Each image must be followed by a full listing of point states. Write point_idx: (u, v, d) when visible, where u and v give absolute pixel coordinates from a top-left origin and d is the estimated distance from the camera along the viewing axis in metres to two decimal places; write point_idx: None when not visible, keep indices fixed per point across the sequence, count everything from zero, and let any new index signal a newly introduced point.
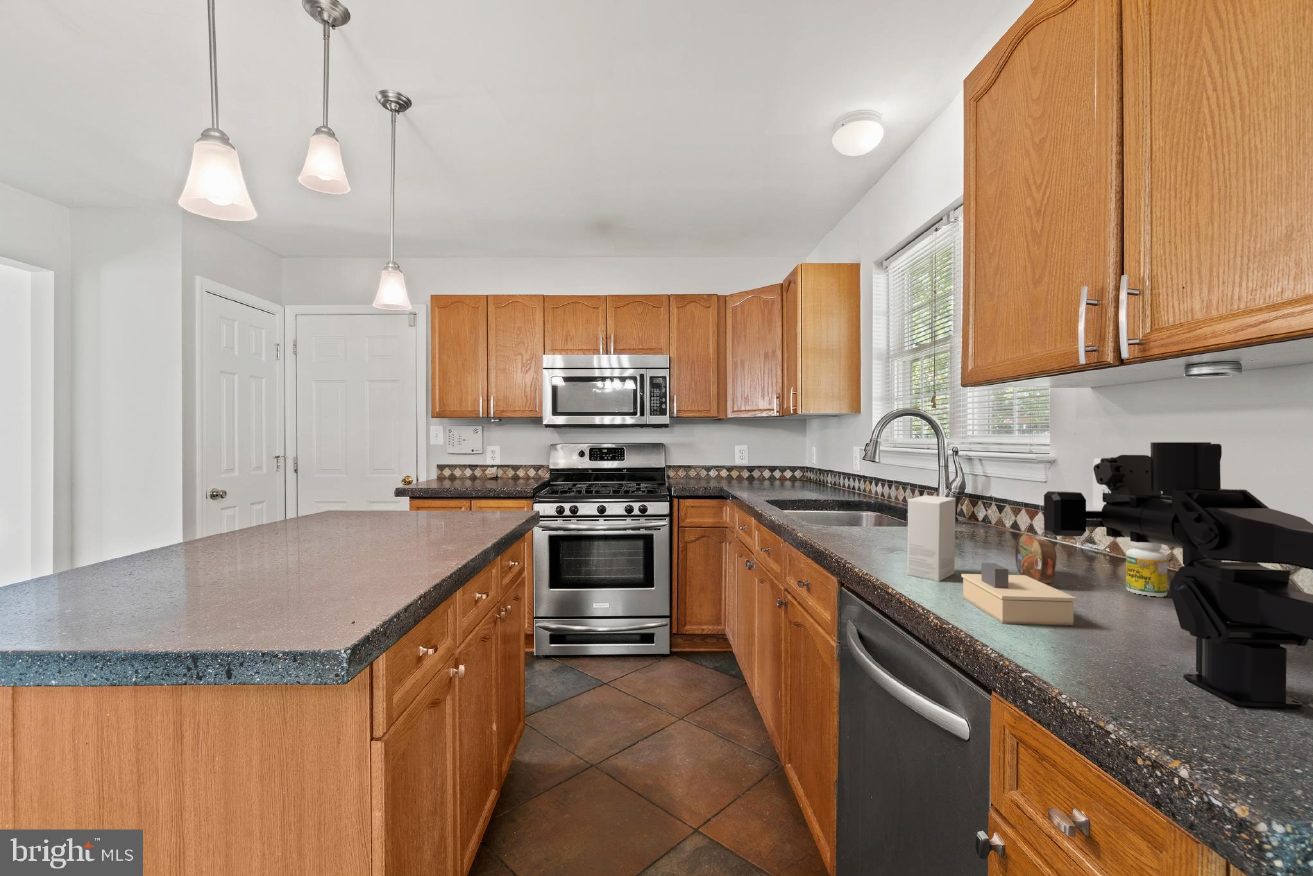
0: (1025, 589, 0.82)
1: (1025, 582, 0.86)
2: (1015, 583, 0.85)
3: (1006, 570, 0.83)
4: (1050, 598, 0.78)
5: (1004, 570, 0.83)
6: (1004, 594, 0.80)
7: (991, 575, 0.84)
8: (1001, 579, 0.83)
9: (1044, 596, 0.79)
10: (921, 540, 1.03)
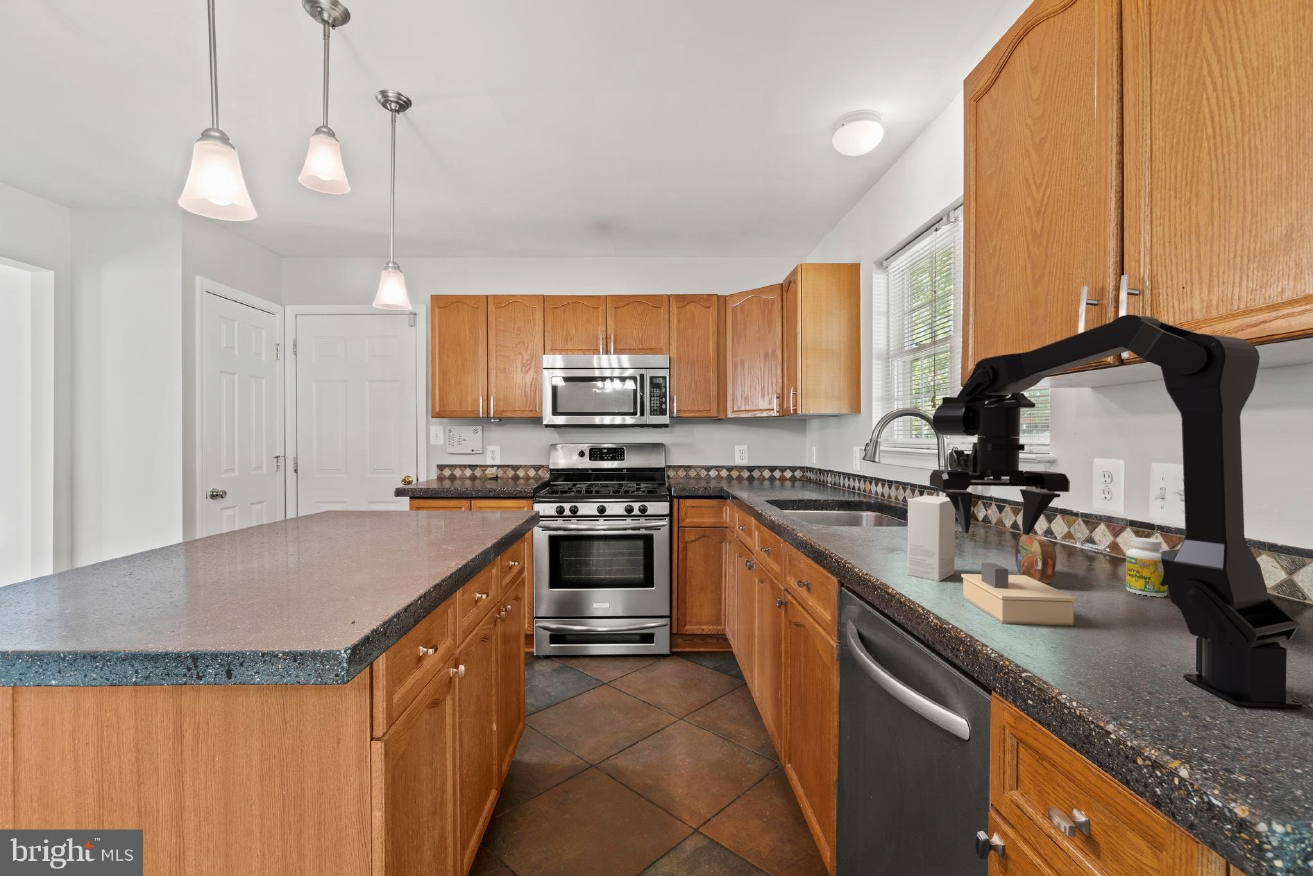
0: (1025, 589, 0.82)
1: (1025, 582, 0.86)
2: (1015, 583, 0.85)
3: (1006, 570, 0.83)
4: (1050, 598, 0.78)
5: (1004, 570, 0.83)
6: (1004, 594, 0.80)
7: (991, 575, 0.84)
8: (1001, 579, 0.83)
9: (1044, 596, 0.79)
10: (921, 540, 1.03)
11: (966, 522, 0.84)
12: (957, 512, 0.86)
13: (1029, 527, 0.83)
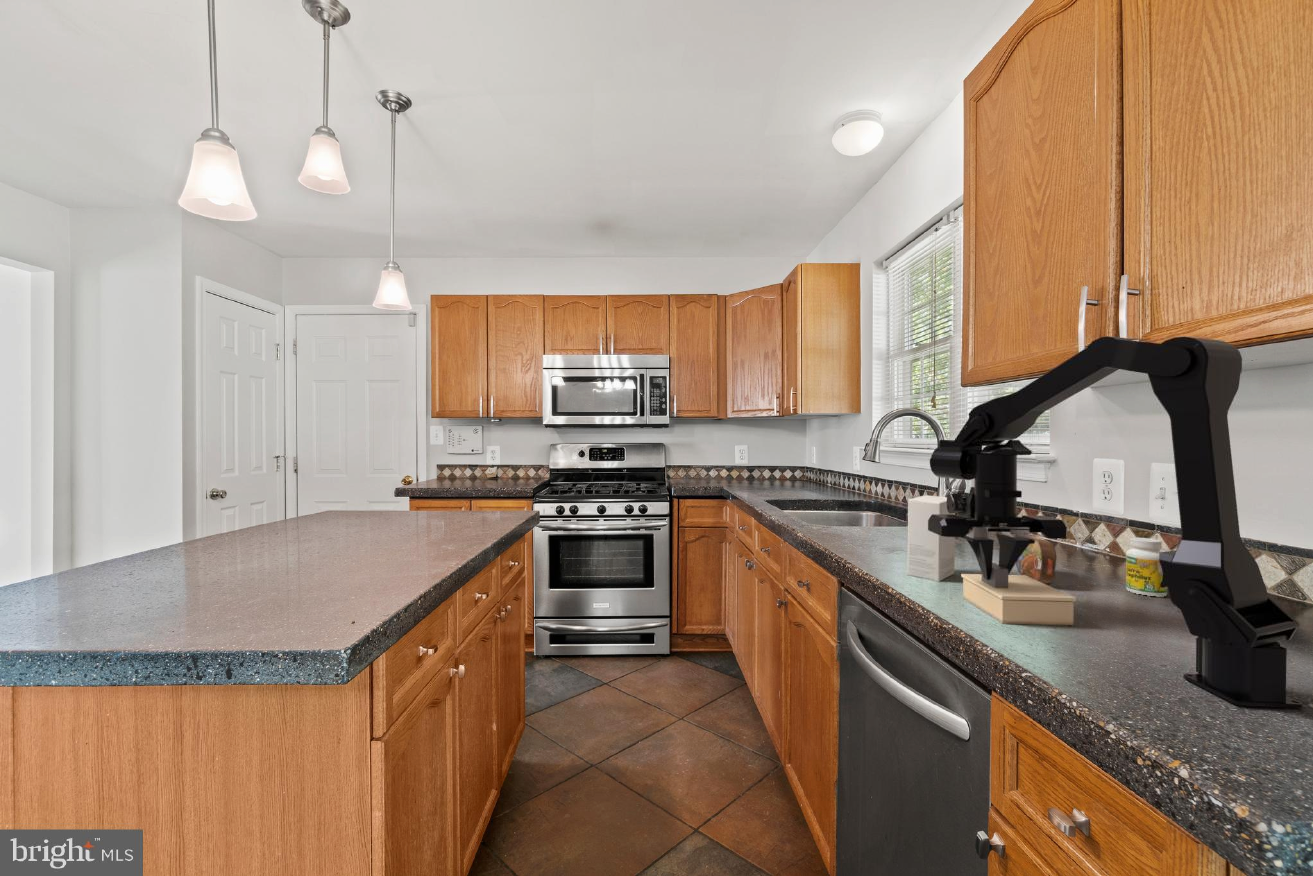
0: (1025, 589, 0.82)
1: (1025, 582, 0.86)
2: (1015, 583, 0.85)
3: (1006, 570, 0.83)
4: (1050, 598, 0.78)
5: (1004, 570, 0.83)
6: (1004, 594, 0.80)
7: (991, 575, 0.84)
8: (1001, 579, 0.83)
9: (1044, 596, 0.79)
10: (921, 540, 1.03)
11: (987, 569, 0.84)
12: (978, 558, 0.85)
13: None
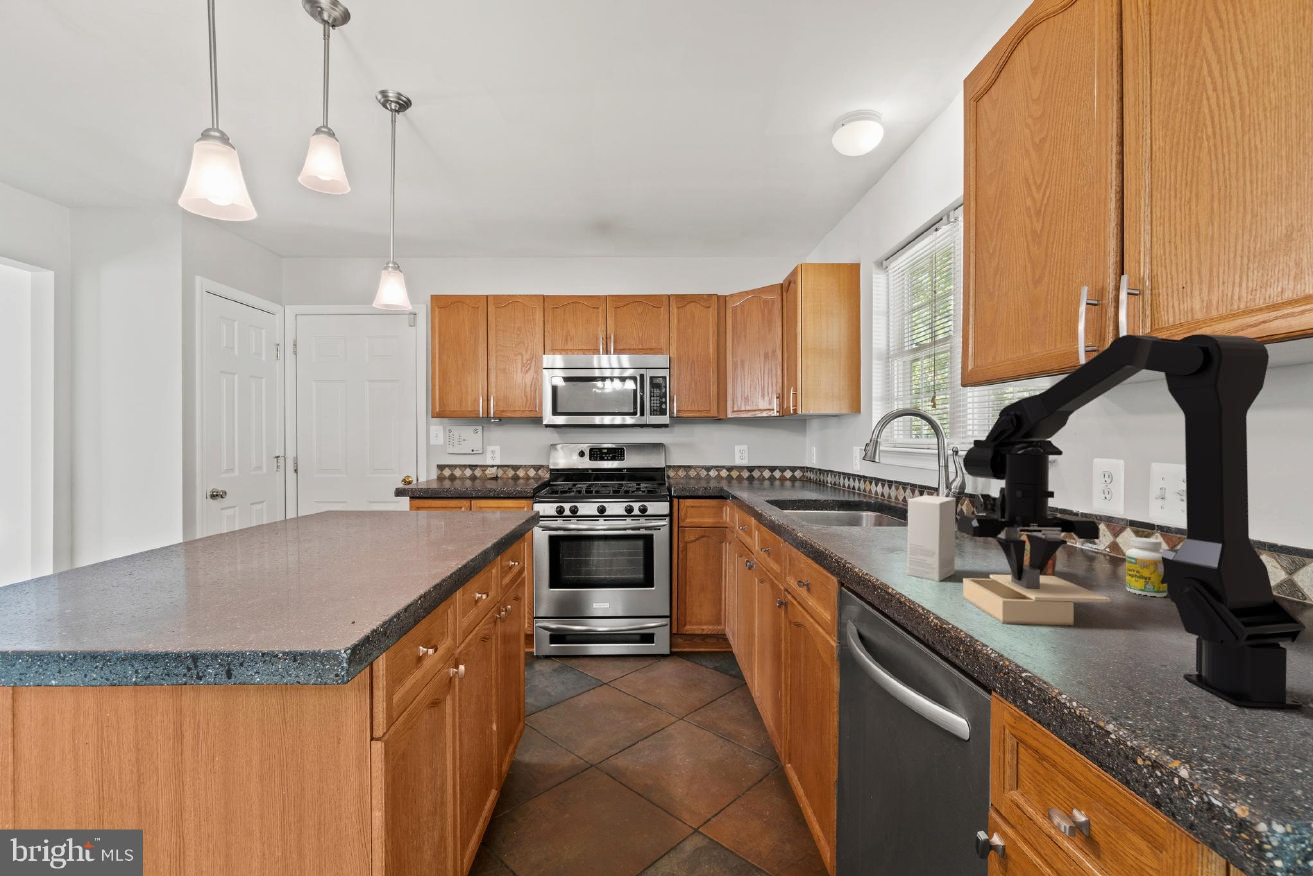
0: (1057, 590, 0.82)
1: (1055, 583, 0.85)
2: (1045, 584, 0.85)
3: (1038, 571, 0.82)
4: (1083, 599, 0.78)
5: (1035, 571, 0.82)
6: (1037, 595, 0.79)
7: (1022, 576, 0.83)
8: (1032, 580, 0.82)
9: (1077, 597, 0.78)
10: (921, 540, 1.03)
11: (1019, 569, 0.83)
12: (1008, 558, 0.85)
13: None
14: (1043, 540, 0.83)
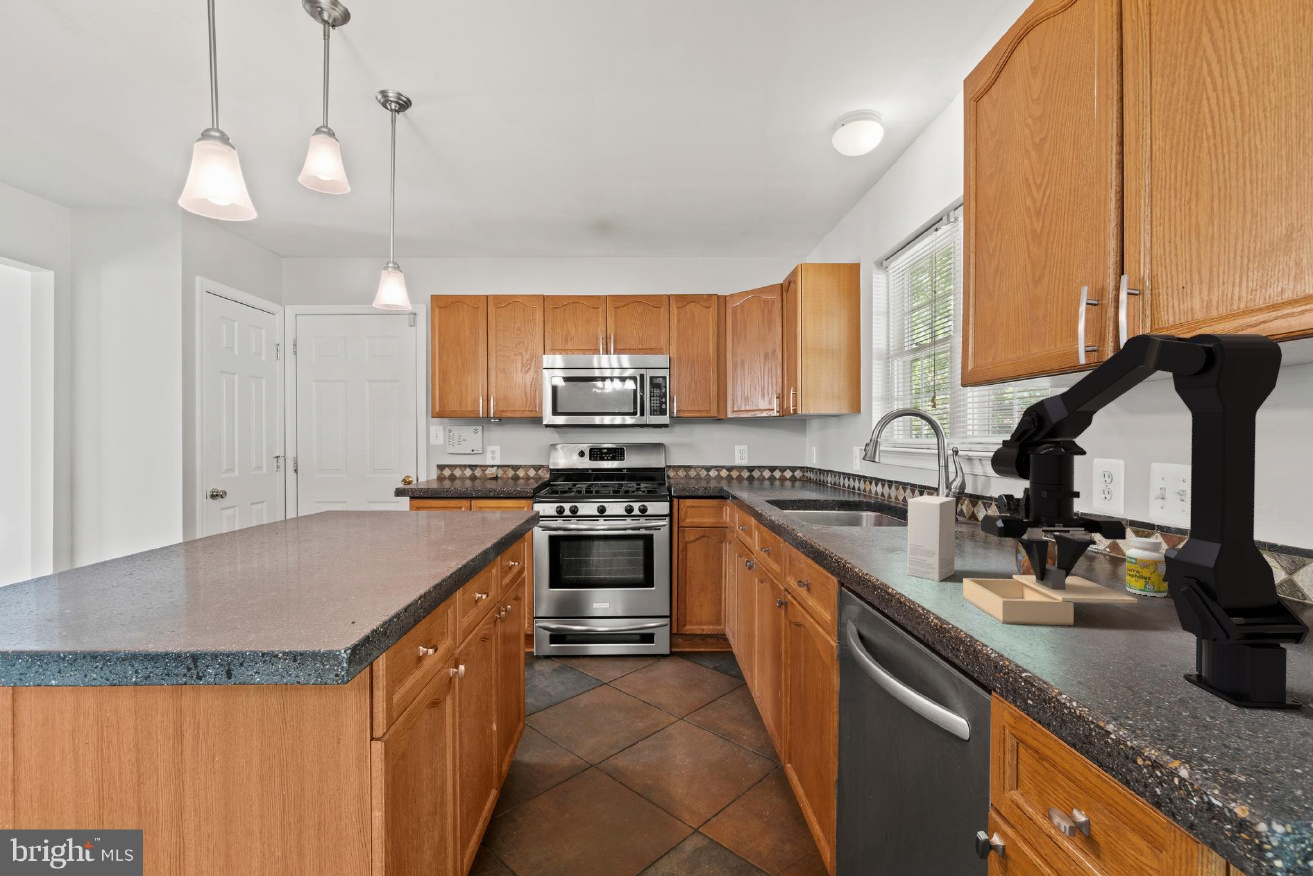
0: (1083, 590, 0.81)
1: (1080, 583, 0.85)
2: (1070, 584, 0.85)
3: (1063, 572, 0.82)
4: (1111, 600, 0.77)
5: (1061, 571, 0.82)
6: (1063, 595, 0.79)
7: (1048, 577, 0.83)
8: (1058, 581, 0.82)
9: (1104, 598, 0.78)
10: (921, 540, 1.03)
11: (1041, 570, 0.83)
12: (1030, 559, 0.85)
13: None
14: (1071, 540, 0.82)
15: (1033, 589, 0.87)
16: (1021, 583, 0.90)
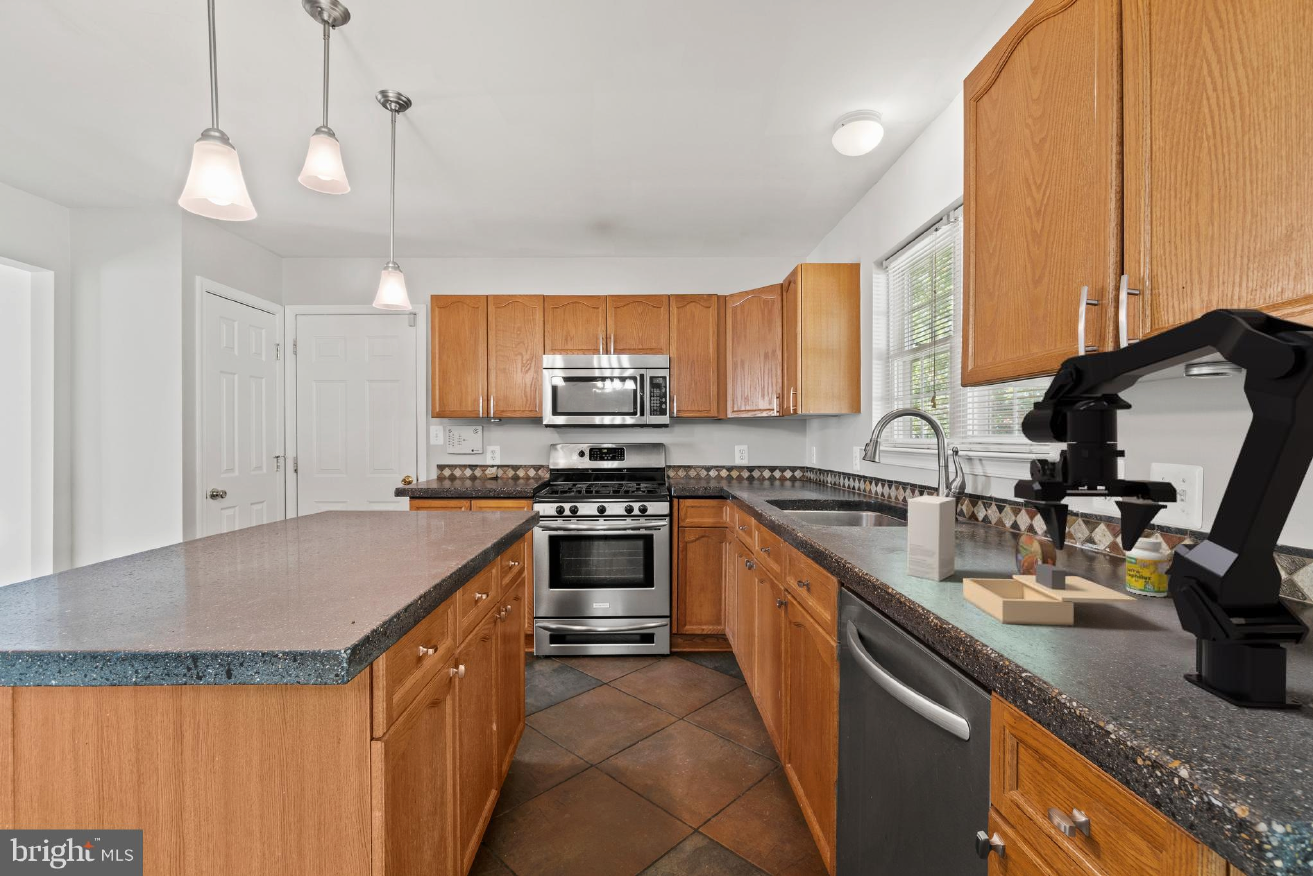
0: (1083, 590, 0.81)
1: (1080, 583, 0.85)
2: (1070, 584, 0.85)
3: (1063, 572, 0.82)
4: (1111, 600, 0.77)
5: (1061, 571, 0.82)
6: (1063, 595, 0.79)
7: (1048, 577, 0.83)
8: (1058, 581, 0.82)
9: (1104, 598, 0.78)
10: (921, 540, 1.03)
11: (1060, 537, 0.76)
12: (1048, 526, 0.77)
13: (1131, 542, 0.75)
14: (1139, 505, 0.74)
15: (1033, 589, 0.87)
16: (1021, 583, 0.90)
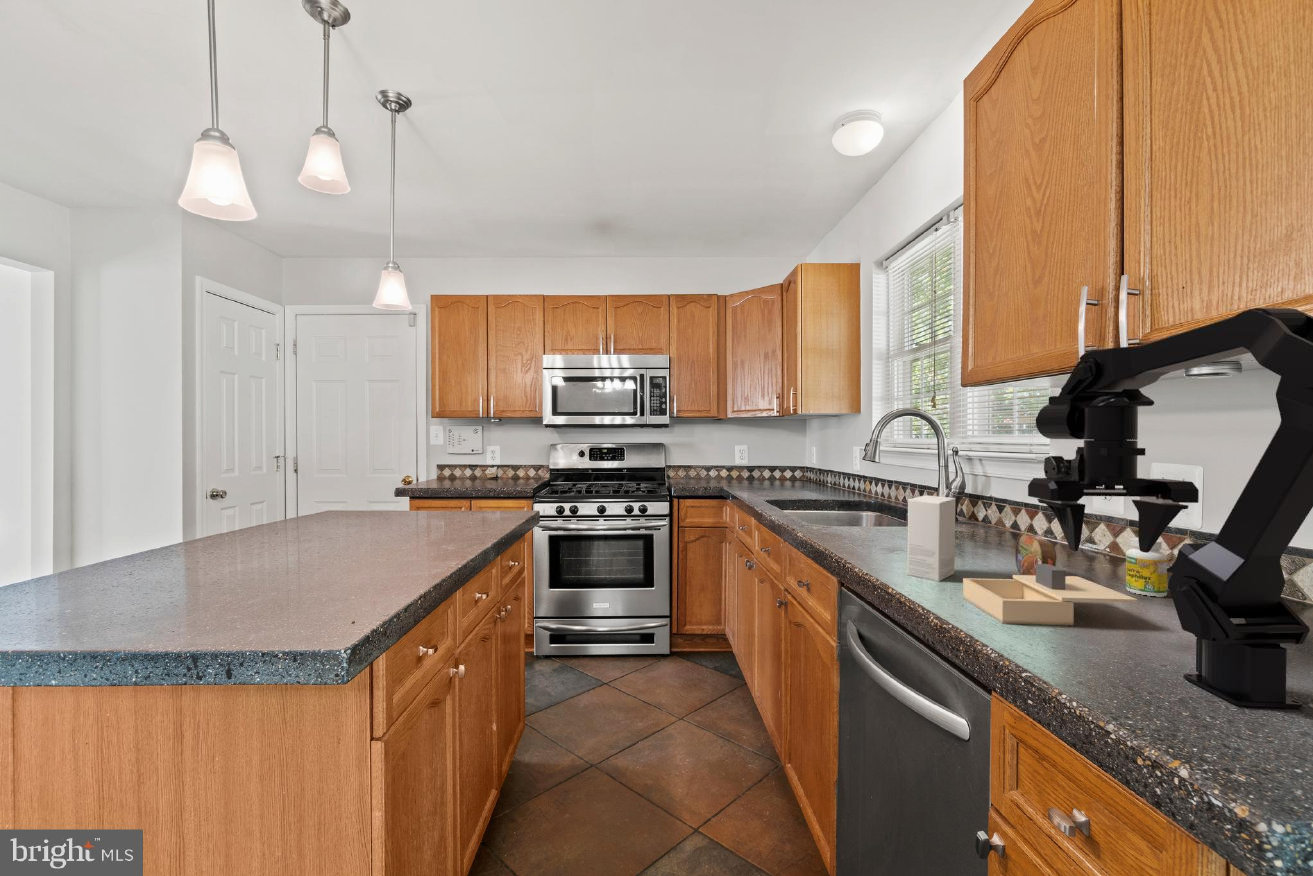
0: (1083, 590, 0.81)
1: (1080, 583, 0.85)
2: (1070, 584, 0.85)
3: (1063, 572, 0.82)
4: (1111, 600, 0.77)
5: (1061, 571, 0.82)
6: (1063, 595, 0.79)
7: (1048, 577, 0.83)
8: (1058, 581, 0.82)
9: (1104, 598, 0.78)
10: (921, 540, 1.03)
11: (1076, 538, 0.73)
12: (1063, 526, 0.75)
13: (1149, 543, 0.72)
14: (1158, 505, 0.72)
15: (1033, 589, 0.87)
16: (1021, 583, 0.90)
